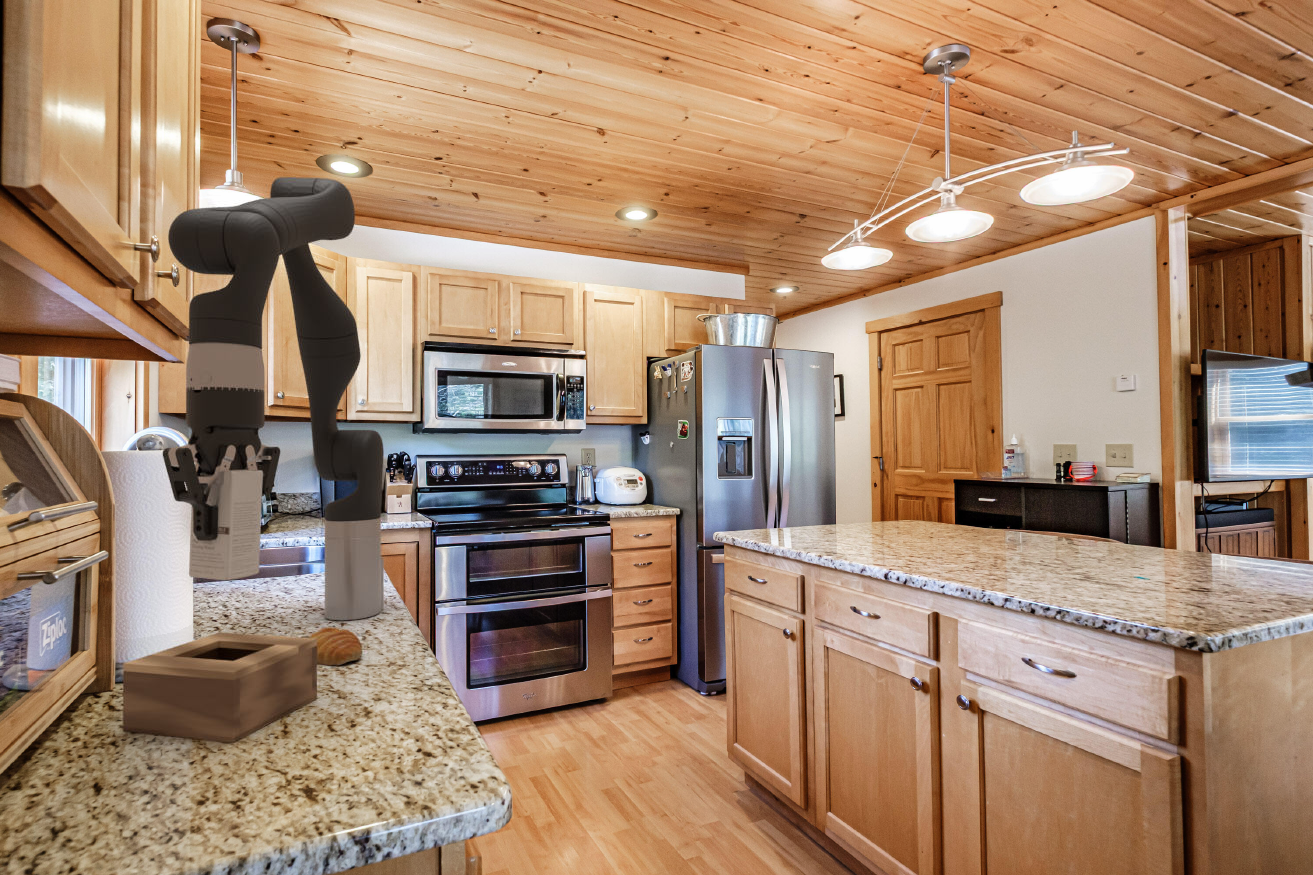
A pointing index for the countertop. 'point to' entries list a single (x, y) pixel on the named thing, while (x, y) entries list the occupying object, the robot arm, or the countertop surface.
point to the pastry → (336, 646)
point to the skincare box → (231, 530)
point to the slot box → (219, 686)
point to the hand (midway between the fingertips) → (226, 536)
